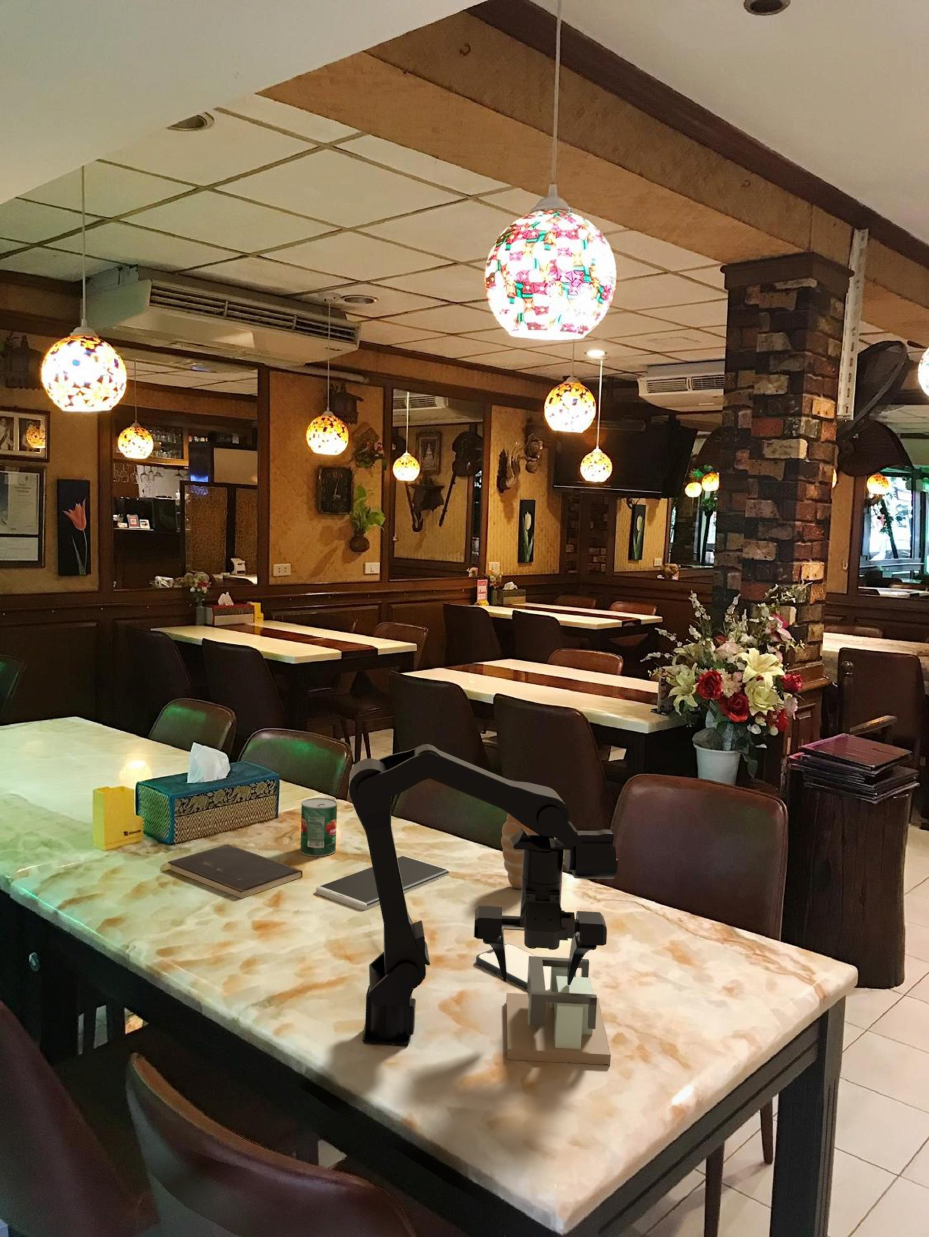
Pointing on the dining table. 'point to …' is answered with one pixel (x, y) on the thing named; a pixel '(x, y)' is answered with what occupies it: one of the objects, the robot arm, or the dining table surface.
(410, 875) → the smartphone
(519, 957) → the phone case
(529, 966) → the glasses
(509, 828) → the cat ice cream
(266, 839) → the dining table surface
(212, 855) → the hardcover book
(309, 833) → the canned tomato
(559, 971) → the green blocks on base
